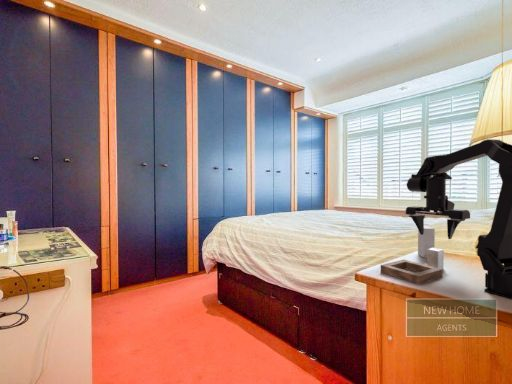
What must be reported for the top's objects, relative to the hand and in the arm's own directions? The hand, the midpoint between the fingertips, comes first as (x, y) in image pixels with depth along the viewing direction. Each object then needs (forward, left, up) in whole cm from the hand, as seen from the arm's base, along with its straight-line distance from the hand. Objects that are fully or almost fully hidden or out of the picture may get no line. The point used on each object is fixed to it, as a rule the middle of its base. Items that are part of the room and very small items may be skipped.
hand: (435, 236), depth 96 cm
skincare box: (+11, -14, -12) cm, 21 cm away
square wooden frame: (+1, +13, -12) cm, 17 cm away
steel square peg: (0, 0, -12) cm, 12 cm away
